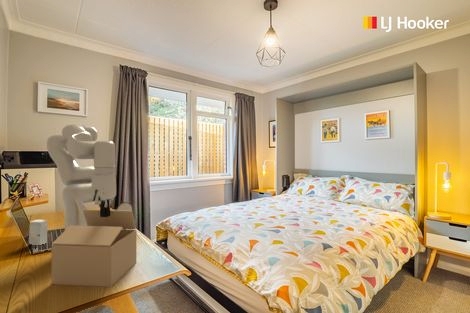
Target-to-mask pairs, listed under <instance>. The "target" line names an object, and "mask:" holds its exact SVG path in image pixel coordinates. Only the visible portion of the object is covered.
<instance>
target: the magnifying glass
mask: <svg viewBox="0 0 470 313" xmlns="http://www.w3.org/2000/svg"><path fill="white" fill-rule="evenodd" d="M115 210H128V211H133V212H134V207H133V205H132V204H131V203H130V202H128V201H127V202H126V201H125V202H124V201H123V202H121V203H120V204H118V206H117V207H116V209H115ZM125 230H127V229H125Z"/></svg>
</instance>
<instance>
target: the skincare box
mask: <svg viewBox="0 0 470 313" xmlns="http://www.w3.org/2000/svg"><path fill="white" fill-rule="evenodd" d="M28 233H29V234H28V236H29V237H28V245H29V244H33V245H42V244H44V245H46V244H48V220H47V219H34V220H31V221H29V230H28ZM45 243H46V244H45ZM42 246H43V245H42Z"/></svg>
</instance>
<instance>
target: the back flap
mask: <svg viewBox="0 0 470 313" xmlns="http://www.w3.org/2000/svg"><path fill="white" fill-rule="evenodd" d="M87 209H88V208H87ZM87 209H84V210H83V212H84V215H85V219H86V222H87V226H108V227H123V228H122V229H126V230H137V228H136V222H135V216H134V213H133V212H134V210H133V211H128V210H116V209H110V216H108V217H100V209H88V210H87Z"/></svg>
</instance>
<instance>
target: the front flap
mask: <svg viewBox="0 0 470 313" xmlns="http://www.w3.org/2000/svg"><path fill="white" fill-rule="evenodd" d="M122 228H123V227H108V226H73V225H70V226H69V227H68V228H67V229H66V230H65V229H64V231H63V232H62V233H61V234H59V236H58V237H57V238H56V239H55V240H54V241H53V242H52V244H57V245H87V246H111V244H112V243H113V241H114V240H115V238H116V237H117V236H118V234H119V233H120V231H121V230H122ZM52 244H51V245H52Z"/></svg>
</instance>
